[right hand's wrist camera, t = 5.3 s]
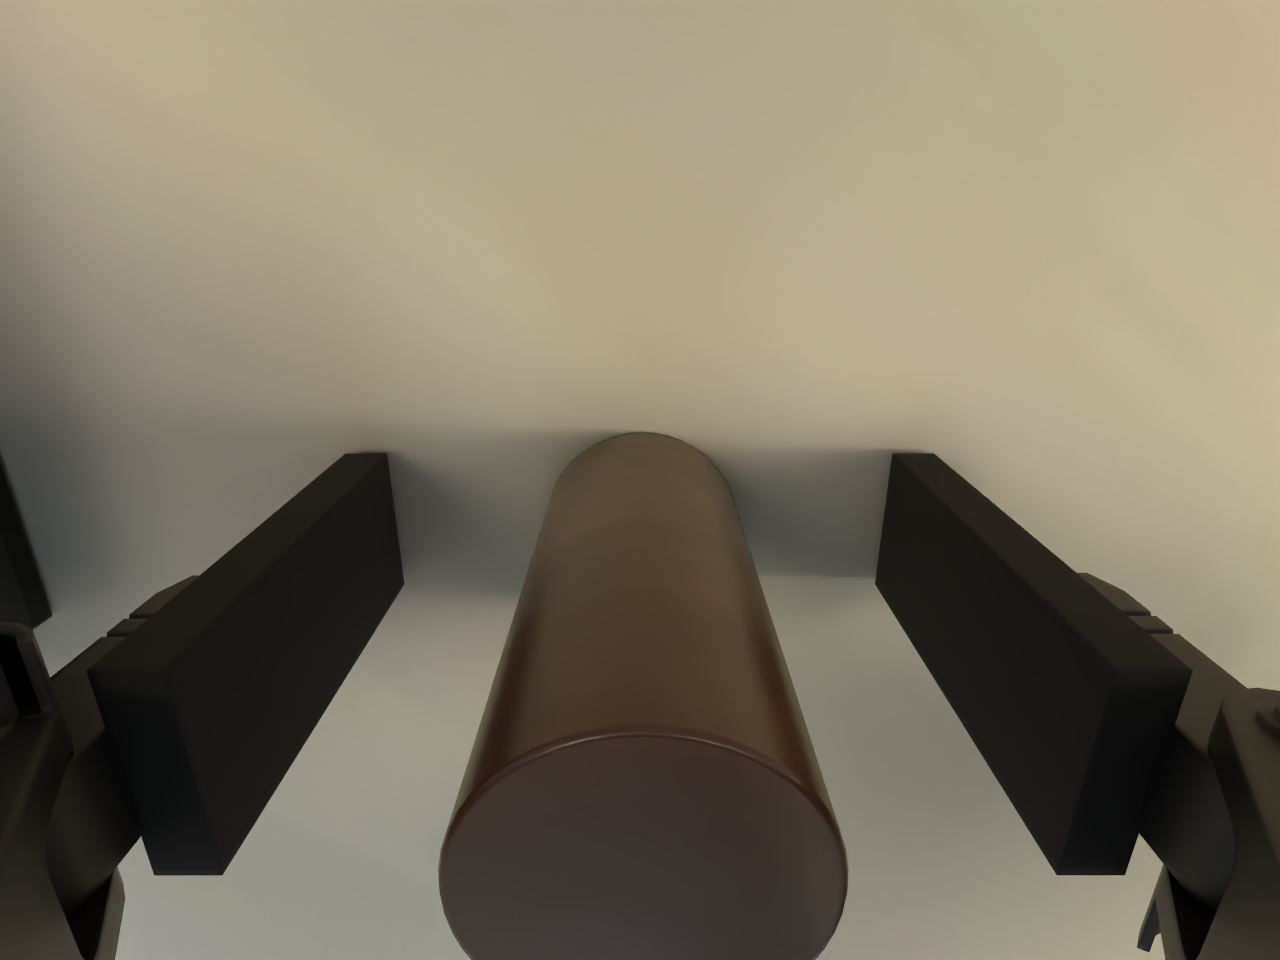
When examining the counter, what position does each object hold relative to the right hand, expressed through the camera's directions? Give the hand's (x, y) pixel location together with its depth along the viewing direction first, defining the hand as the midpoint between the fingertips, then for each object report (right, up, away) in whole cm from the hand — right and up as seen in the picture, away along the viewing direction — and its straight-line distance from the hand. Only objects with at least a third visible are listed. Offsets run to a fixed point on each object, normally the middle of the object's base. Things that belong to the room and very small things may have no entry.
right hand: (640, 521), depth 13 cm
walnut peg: (0, 0, 0) cm, 0 cm away
